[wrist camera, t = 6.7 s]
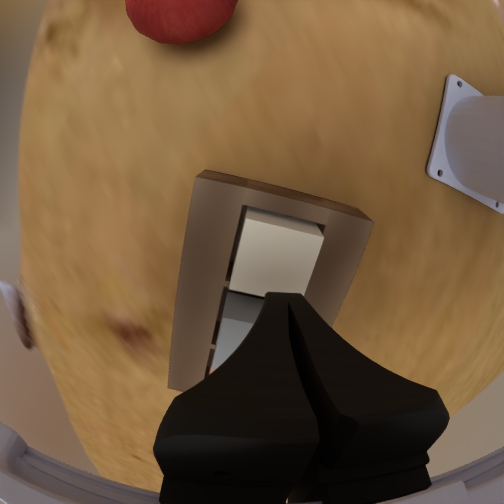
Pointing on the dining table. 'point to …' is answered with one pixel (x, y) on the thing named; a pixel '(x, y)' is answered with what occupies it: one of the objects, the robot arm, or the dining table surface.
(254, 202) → the key block
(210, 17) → the pomegranate
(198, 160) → the dining table surface
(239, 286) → the cream key
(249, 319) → the slate key
